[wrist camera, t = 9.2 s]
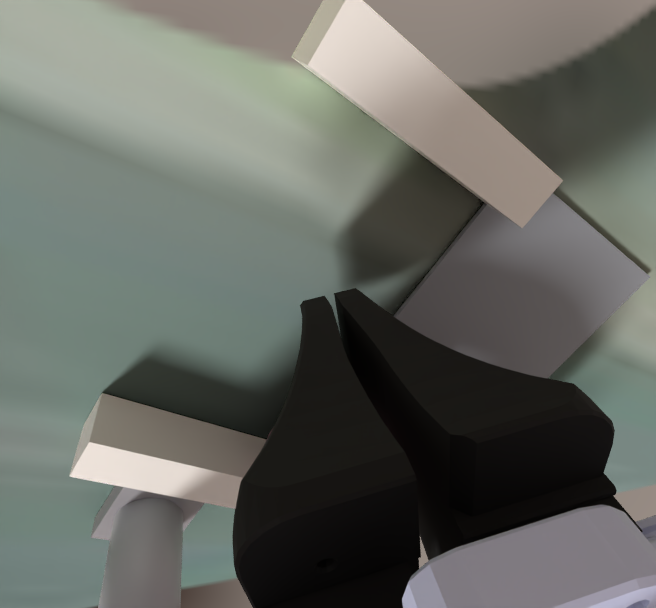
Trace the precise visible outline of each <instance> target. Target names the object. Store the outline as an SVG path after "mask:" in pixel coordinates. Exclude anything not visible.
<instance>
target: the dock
mask: <svg viewBox="0 0 656 608" xmlns="http://www.w3.org/2000/svg"><path fill="white" fill-rule="evenodd" d="M291 57H292V58H293V59H295V60H296V61H297V62H299V63H300V64H301V65H303V66H304V67H305V68H307V69H308V70H309V71H311V72H312V73H313V74H315V75H316V76H317V77H319V78H320V79H321V80H323V81H324V82H325V83H327V84H328V85H329V86H331V87H332V88H333V89H335V90H336V91H337V92H339V93H340V94H341V95H343V96H344V97H345V98H347V99H348V100H349V101H350V102H352V103H353V104H354V105H356V106H357V107H358V108H360V109H361V110H362V111H364V112H365V113H366V114H368V115H369V116H370V117H372V118H373V119H374V120H376V121H377V122H378V123H380V124H381V125H382V126H384V127H385V128H386V129H388V130H389V131H390V132H392V133H393V134H394V135H396V136H397V137H398V138H400V139H401V140H402V141H404V142H405V143H406V144H408V145H409V146H410V147H411V148H413V149H414V150H415V151H417V152H418V153H419V154H421V155H422V156H423V157H425V158H426V159H427V160H429V161H430V162H431V163H433V164H434V165H435V166H437V167H438V168H439V169H441V170H442V171H443V172H445V173H446V174H447V175H449V176H450V177H451V178H453V179H454V180H455V181H457V182H458V183H459V184H461V185H462V186H463V187H465V188H466V189H467V190H469V191H470V192H471V193H473V194H474V195H475V196H476V197H478V198H479V199H480V200H482V201H483V202H484V203H486V204H487V205H489V206H490V207H492V208H493V209H495V210H496V211H498V212H499V213H501V214H502V215H504V216H505V217H506V218H508V219H509V220H511V221H512V222H514V223H515V224H517V225H518V226H520V227H521V228H523V227H524V226H525V225H526V224H527V222H528V221H529V220H530V219H531V218H532V217H533V215H534V214H535V213H536V212H537V211H538V209H539V208H540V207H541V206H542V205H543V204H544V202H545V201H546V200H547V199H548V198H549V197H550V195H551V194H552V193H553V192H554V191H555V190H556V188H557V187H558V186H559V185H560V184H561V183H562V181H563V180H562V179H561V178H560V177H559V176H558V175H556V174H555V173H554V172H553V171H552V170H551V169H550V168H549V167H548V166H546V165H545V164H544V163H543V162H542V161H541V160H540V159H539V158H538V157H536V156H535V155H534V154H533V153H532V152H531V151H530V150H529V149H528V148H526V147H525V146H524V145H523V144H522V143H521V142H520V141H519V140H518V139H516V138H515V137H514V136H513V135H512V134H511V133H510V132H509V131H508V130H506V129H505V128H504V127H503V126H502V125H501V124H500V123H499V122H498V121H496V120H495V119H494V118H493V117H492V116H491V115H490V114H489V113H488V112H486V111H485V110H484V109H483V108H482V107H481V106H480V105H479V104H478V103H476V102H475V101H474V100H473V99H472V98H471V97H470V96H469V95H468V94H466V93H465V92H464V91H463V90H462V89H461V88H460V87H459V86H458V85H456V84H455V83H454V82H453V81H452V80H451V79H450V78H449V77H448V76H446V75H445V74H444V73H443V72H442V71H441V70H440V69H438V68H437V67H436V66H435V65H434V64H433V63H432V62H431V61H430V60H429V59H427V58H426V57H425V56H424V55H423V54H422V53H421V52H420V51H419V50H417V49H416V48H415V47H414V46H413V45H412V44H411V43H410V42H409V41H408V40H406V39H405V38H404V37H403V36H402V35H401V34H400V33H399V32H397V31H396V30H395V29H394V28H393V27H392V26H391V25H390V24H389V23H387V22H386V21H385V20H384V19H383V18H382V17H381V16H380V15H379V14H378V13H376V12H375V11H374V10H373V9H372V8H371V7H370V6H369V5H368V4H366V3H365V2H364V1H363V0H323V1H322V3H321V5H320V7H319V9H318V10H317V12H316V14H315V16H314V18H313V19H312V21H311V23H310V25H309V26H308V28H307V30H306V32H305V33H304V35H303V37H302V39H301V40H300V42H299V44H298V46H297V48H296V49H295V51H294V53H293V55H292V56H291ZM266 440H267V439H263V438H260V437H256V436H252V435H249V434H245V433H242V432H238V431H235V430H231V429H228V428H224V427H221V426H217V425H214V424H210V423H207V422H203V421H200V420H196V419H192V418H189V417H185V416H182V415H178V414H175V413H171V412H168V411H164V410H161V409H157V408H154V407H150V406H147V405H143V404H140V403H136V402H132V401H129V400H125V399H122V398H118V397H115V396H111V395H108V394H104V393H102V394H101V395H100V397H99V399H98V401H97V402H96V404H95V406H94V408H93V409H92V411H91V413H90V415H89V417H88V418H87V420H86V422H85V424H84V426H83V429H82V433H81V436H80V440H79V444H78V447H77V451H76V454H75V458H74V461H73V465H72V468H71V472H70V475H69V476H70V477H75V478H80V479H85V480H90V481H95V482H101V483H106V484H111V485H115V487H114V489H113V490H112V492H111V493H110V495H109V496H108V498H107V499H106V501H105V503H104V504H103V506H102V507H101V509H100V510H99V512H98V514H97V515H96V517H95V520H94V524H93V529H92V534H91V538H98V539H105V540H110V543H109V548H108V554H107V560H106V566H105V572H104V578H103V583H102V589H101V595H100V601H99V607H98V608H180V597H181V569H182V541H183V531H184V530H185V528H186V527H187V526H188V524H189V523H190V522H191V521H192V519H193V518H194V517H195V515H196V514H197V513H198V511H199V510H200V509H201V507H202V506H203V505H204V503H208V504H213V505H218V506H224V507H229V508H234V509H235V508H236V502H237V497H238V492H239V487H240V483H241V480H242V479H243V477H244V476H245V474H246V473H247V471H248V470H249V468H250V467H251V465H252V464H253V462H254V461H255V459H256V457H257V456H258V454H259V453H260V451H261V450H262V448H263V446H264V444H265V442H266Z"/></svg>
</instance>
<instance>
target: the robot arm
mask: <svg viewBox="0 0 656 608" xmlns="http://www.w3.org/2000/svg"><path fill="white" fill-rule="evenodd" d="M334 295H335V301H336V308H337V314H338V320H339V327H340V333H341V336H340V333H339V330H338V326H337V323H336V319H335V316H334V313H333V309H332V307H331V305H330V303H329V302H328V300H327V299H326V297H325V296H322V297H318V298H314V299H310V300H305V301H303V302H302V304H301V305H300V307H301V312H302V335H301V344H300V350H299V355H298V360H297V365H296V369H295V373H294V376H293V380H292V383H291V386H290V389H289V392H288V395H287V398H286V400H285V403H284V405H283V408H282V410H281V413H280V415H279V417H278V419H277V421H276V423H275V425H274V427H273V429H272V431H271V433H270V435H269V437H268V439H267V440H266V442H265V444H264V446H263V448H262V450H261V451H260V453H259V454H258V456H257V457H256V459H255V461H254V462H253V464H252V465H251V467H250V468H249V470H248V471H247V473H246V474H245V476H244V477H243V479H242V480H241V483H240V487H239V492H238V497H237V502H236V508H235V515H234V524H233V554H234V567H235V571H236V575H237V578H238V580H239V581H240V583H241V585H242V587H243V589H244V591H245V593H246V595H247V597H248V599H249V601H250V603H251V605H252V607H253V608H656V515H655V516H652V517H649V518H646V519H643V520H640V521H637V522H635V521H634V520H633V519H632V518H631V516H630V515H629V514H628V513H627V512H626V511H625V510H624V508H623V507H622V506H621V505H620V504H619V502H618V501H617V500H616V499H615V498H614V496H613V495H615V494H616V488H615V486H614V484H613V483H612V482H611V481H610V480H609V479H608V478H607V476H606V475H605V474H604V473H603V472H604V469H605V466H606V463H607V460H608V457H609V454H610V451H611V448H612V444H613V438H614V431H615V430H614V427H613V423H612V421H611V420H610V419H609V418H608V417H607V416H606V415H605V414H604V412H603V411H602V410H601V409H600V408H599V407H598V406H597V405H596V404H595V403H594V402H593V401H592V400H591V399H590V398H589V397H588V396H587V395H586V394H585V393H584V392H582V391H581V390H580V389H579V388H578V387H577V386H576V385H574V384H572V383H567V382H562V381H557V380H552V379H547V378H542V377H537V376H532V375H528V374H524V373H520V372H517V371H513V370H509V369H506V368H502V367H499V366H496V365H493V364H489V363H486V362H484V361H481V360H478V359H475V358H473V357H470V356H467V355H465V354H462V353H460V352H457V351H455V350H453V349H451V348H448V347H446V346H444V345H442V344H440V343H438V342H436V341H434V340H432V339H430V338H428V337H426V336H424V335H422V334H421V333H419V332H417V331H415V330H414V329H412V328H410V327H409V326H407V325H406V324H404V323H403V322H401V321H400V320H398V319H397V318H395V317H394V316H392V315H391V314H389V313H388V312H387V311H385V310H384V309H382V308H381V307H380V306H378V305H377V304H376V303H374V302H373V301H372V300H370V299H369V298H368V297H367V296H365V295H364V294H363V293H362V292H360V291H359V290H357V289H356V288H354V289H350V290H346V291H342V292H338V293H334ZM341 339H342V340H341ZM420 537H421V540H422V543H423V545H424V548H425V551H426V554H427V557H428V560H429V561H428V562H427V563H425V564H424V565H423V566H422V567H421V568H420V569H419V560H418V558H419V557H421V554H420Z"/></svg>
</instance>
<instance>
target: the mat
mask: <svg viewBox="0 0 656 608" xmlns="http://www.w3.org/2000/svg"><path fill="white" fill-rule="evenodd" d="M649 278H650V276H649V275H648V274H646V273H645V272H644V271H643V270H642V269H641V268H639V267H638V266H637V265H636V264H635V263H634V262H633V261H631V260H630V259H629V258H628V257H627V256H626V255H624V254H623V253H622V252H621V251H620V250H619V249H617V248H616V247H615V246H614V245H613V244H612V243H611V242H609V241H608V240H607V239H606V238H605V237H604V236H602V235H601V234H600V233H599V232H598V231H597V230H595V229H594V228H593V227H592V226H591V225H590V224H588V223H587V222H586V221H585V220H584V219H583V218H582V217H580V216H579V215H578V214H577V213H576V212H575V211H573V210H572V209H571V208H570V207H569V206H568V205H566V204H565V203H564V202H563V201H562V200H561V199H559V198H558V197H557V196H556V195H555V194H554V193H552V194H551V195H550V197H549V198H548V199H547V200H546V201H545V202H544V204H543V205H542V206H541V207H540V208H539V209H538V211H537V212H536V213H535V214H534V215H533V217H532V218H531V219H530V220H529V221H528V222H527V224H526V225H525V226H524V227H523V228H521V227H520V226H518V225H517V224H515V223H514V222H512V221H511V220H509V219H508V218H506V217H505V216H504V215H502V214H501V213H499V212H498V211H496V210H495V209H493V208H492V207H490V206H489V205H487V204H486V203H484V204H483V205H482V206H481V208H480V209H479V210H478V211H477V213H476V214H475V215H474V216H473V218H472V219H471V220H470V221H469V223H468V224H467V225H466V226H465V228H464V229H463V230H462V231H461V233H460V234H459V235H458V236H457V238H456V239H455V240H454V241H453V242H452V244H451V245H450V246H449V247H448V249H447V250H446V251H445V252H444V254H443V255H442V256H441V257H440V259H439V260H438V261H437V262H436V264H435V265H434V266H433V267H432V269H431V270H430V271H429V272H428V274H427V275H426V276H425V277H424V279H423V280H422V281H421V282H420V284H419V285H418V286H417V287H416V289H415V290H414V291H413V292H412V294H411V295H410V296H409V297H408V299H407V300H406V301H405V302H404V304H403V305H402V306H401V307H400V309H399V310H398V311H397V312H396V313H395V315H394V317H395V318H397V319H398V320H400V321H401V322H403V323H404V324H406V325H407V326H409V327H410V328H412V329H414V330H415V331H417V332H419V333H421V334H422V335H424V336H426V337H428V338H430V339H432V340H434V341H436V342H438V343H440V344H442V345H444V346H446V347H448V348H451V349H453V350H455V351H457V352H460V353H462V354H465V355H467V356H470V357H473V358H475V359H478V360H481V361H484V362H486V363H489V364H493V365H496V366H499V367H502V368H506V369H509V370H513V371H517V372H520V373H524V374H528V375H532V376H537V377H542V378H547V379H548V378H549V377H550V376H551V375H552V374H553V373H554V372H555V371H556V370H557V369H558V368H559V367H560V366H561V365H562V364H563V363H564V362H565V361H566V360H567V359H568V358H569V357H570V356H571V355H572V354H573V353H574V352H575V351H576V350H577V349H578V348H579V347H580V346H581V345H582V344H583V343H584V342H585V341H586V340H587V339H588V338H589V337H590V336H591V335H592V334H593V333H594V332H595V331H596V330H597V329H598V328H599V327H600V326H601V325H602V324H603V323H604V322H605V321H606V320H607V319H608V318H609V317H610V316H611V315H612V314H613V313H614V312H615V311H616V310H617V309H618V308H619V307H620V306H621V305H622V304H623V303H624V302H625V301H626V300H627V299H628V298H629V297H631V296H632V295H633V294H634V293H635V292H636V291H637V290H638V289H639V288H640V287H641V286H642V285H643V284H644V283H645V282H646V281H647V280H648V279H649Z"/></svg>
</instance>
